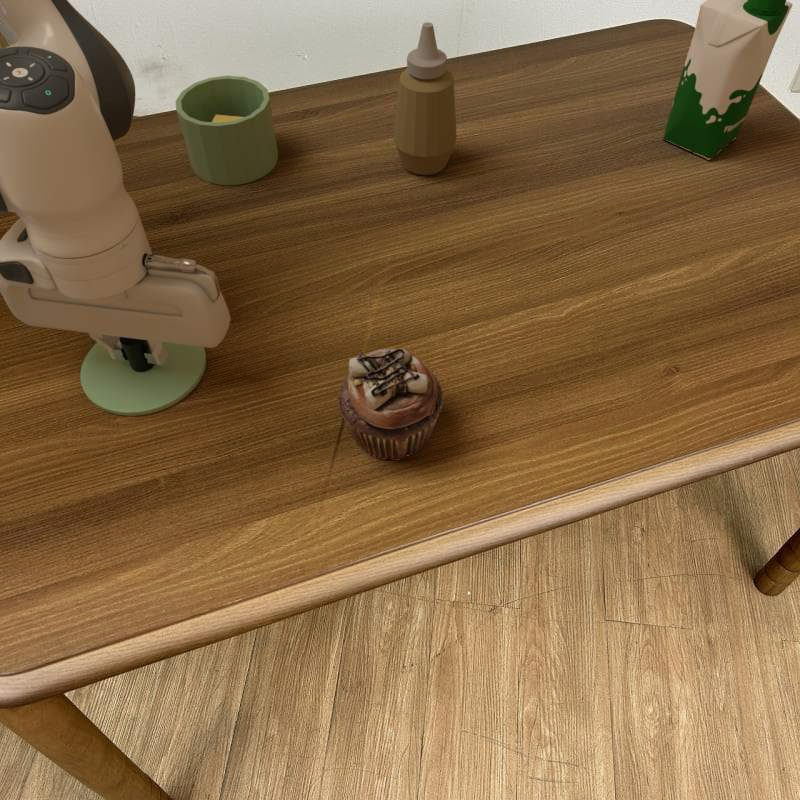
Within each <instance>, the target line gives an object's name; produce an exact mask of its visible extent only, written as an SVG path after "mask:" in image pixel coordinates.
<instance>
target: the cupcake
mask: <svg viewBox="0 0 800 800" xmlns="http://www.w3.org/2000/svg"><path fill="white" fill-rule="evenodd" d="M342 382H343V383H342V385H340V386H339V388H340V390H339V391H338V394H339V397H338V398H337V401H338V407H339V409H340V411H339V412H340V413H341V416H342V418H343V419H344V421H345V423H346V424H347V426H348V428H349V431H350V435H351V437H353V439H354V441H355V442H356V444H357V445H358V446H359V445H360V446H361V447H360V446H359V447H360V449H361V450H363V449H364V450H365V451H366V452H365V451H364V450H363V451H364V452H365V453H367V452H368V453H367V454H368V455H369V454H370V455H374V456H375V457H379V458H385V459H393V460H392V461H396V460H395V459H401V460H403V459H402V458H404V457H406V456H407V455H409V456H408V457H411V456H410V455H413V454H415V453H417V452H419V451H420V450H421V449H422V448H423V447H424V448H425V447H426V445H427V444H428V443H429V442H430V440H429V439H431V437H432V434H433V432H434V429H435V426H436V424H437V422H438V419H439V416H440V414H441V410H442V408H443V403H444V396H445V395H444V393H443V390H442V386H441V382H440V381H438V376H437V374H434V370H432V369H431V368H430V367H429V366H428V365H427V364H426V363H425V362H424V361H423V360H422V359H421V358H420V357H418V356H417V355H415V354H414V353H412V352H410V351H408V350H406V349H401V348H378V349H377V350H374V351H372V352H369V353H367V354H364V353H362V352H359V353H358V354H357V356H356V357H352V358H350V359H349V361H348V373H347V375H346V378H345V379H344V380H342ZM428 441H429V442H428ZM427 442H428V443H427ZM426 443H427V444H426ZM424 448H423V449H424ZM423 449H422V450H423ZM422 450H421V451H422ZM421 451H420V452H421ZM420 452H419V453H420ZM417 454H418V453H417ZM370 455H369V456H370ZM415 455H416V454H415ZM413 456H414V455H413ZM375 457H374V458H375ZM379 458H378V459H379ZM406 458H407V457H406ZM385 459H384V460H385ZM404 459H405V458H404Z"/></svg>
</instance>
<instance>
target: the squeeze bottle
mask: <svg viewBox="0 0 800 800" xmlns="http://www.w3.org/2000/svg"><path fill="white" fill-rule="evenodd" d="M447 65H448V56H447V54H446V52H444V51H443V50H441V49H439V48H438V44H437V40H436V34H435V29H434V23H432V22H429V21H427V22H426V21H425V22H423V23H422V26H421V30H420V35H419V39H418V43H417V48H415V49H412V50H411V51H409V52H408V54H407V57H406V69H404V70H403V71H402V72H401V73H400V76H399V79H398V87H397V98H396V109H395V118H394V119H395V120H394V128H393V129H394V130H393V142H394V144H395V147H396V150H397V152H398V155H399V158H400V160H401V163H402V166H403V168H404V169H405V170H406V171H408V172H409V173H412V174H415V175H420V176H431V175H435V174H437V173H440V172H442V171H443V170H444V169H445V168H446V167H447V164H448V162H449V160H450V158H451V155H452V154H453V151H454V148H455V147H456V142H457V117H456V97H455V96H456V95H455V78H454V76H453V74H452V72H451V71H450V70H448V69H447Z"/></svg>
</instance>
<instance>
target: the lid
mask: <svg viewBox="0 0 800 800" xmlns="http://www.w3.org/2000/svg"><path fill="white" fill-rule="evenodd" d="M119 340H120V343H121V345H122V347H123V350H124V352H125V354H126V356H127V359H128V360H127V361H125V360H116V359H112V358H111V356H110V354H109V352H108V350H107V349H105V348H104V347H103V346H101V345H100V344H99V343H97V342H95V344H94V345H93V346H92V347H91V348H90V349H89V351H88V352H87V354H86V355H85V358H84V359H83V361H82V364H81V367H80V373H79V376H80V384H81V388H82V390H83V392H84V394H85V395H86V397H87V398H88V400H89V401H90V402H91V403H92V404H93V405H94V406H96V407H97V408H99V409H100V410H103V411H105V412H107V413H110V414H114V415H116V416H117V415H118V416H125V417H126V416H128V417H135V416H136V417H137V416H146V415H150V414H154V413H157V412H161V411H164V410H166V409H168V408H170V407H172V406H174V405H176V404H177V403H179V402H181V401H182V400H183V399H185V398H186V397H187V396H189V394H190V393H192V392H193V390H194V389H195V388H196V387H197V386H198V384H200V382H201V379H202V378H203V376H204V373H205V371H206V366H207V353H206V347H199V346H191V345H183V344H175V343H166V342H165V346H166V348H167V351H168V356H167V359H166V361H165V363H164V365H156V364H149V363H148V362H147V359H146V358H145V355H144V352H145V350H146V349H147V348H148V344H149V341H148V340H142V339H134V338H126V337H120V338H119Z"/></svg>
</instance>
